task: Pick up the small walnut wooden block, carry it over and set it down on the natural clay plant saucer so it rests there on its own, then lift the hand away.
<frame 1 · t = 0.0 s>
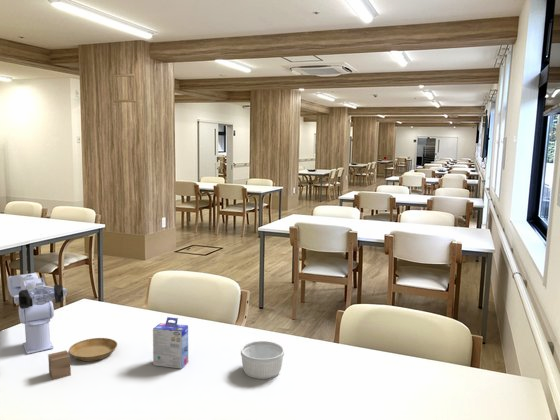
hand: (45, 300, 140), 22 cm above the table, tool horizontal, fingers open, 7 cm apart
walnut block: (60, 374, 140), on the table
plant saucer: (93, 354, 154), on the table
ink cartridge box: (171, 364, 148), on the table
ramekin: (262, 371, 144), on the table
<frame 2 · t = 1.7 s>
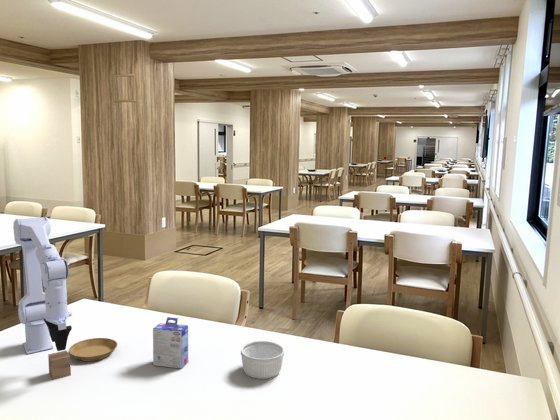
hand: (58, 345, 138), 9 cm above the table, tool pointing down, fingers open, 7 cm apart
nothing on the table moved.
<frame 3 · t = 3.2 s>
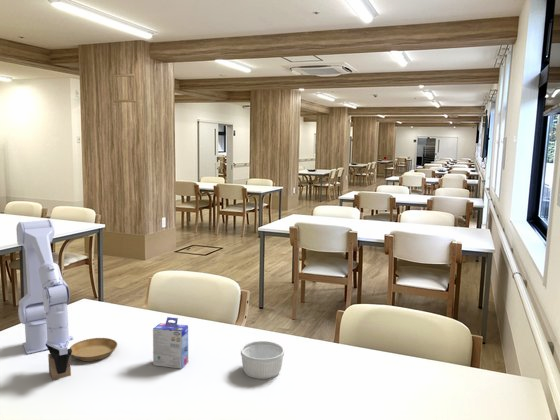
hand: (59, 369, 139), 2 cm above the table, tool pointing down, fingers closed on walnut block, 5 cm apart
walnut block: (60, 374, 140), on the table, touching gripper
everything else where it was.
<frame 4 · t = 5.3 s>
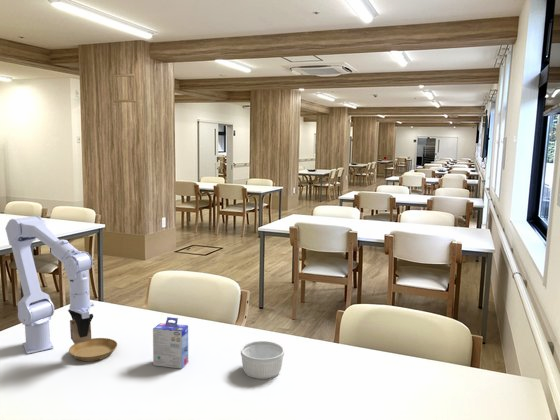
hand: (81, 333, 148), 9 cm above the table, tool pointing down, fingers closed on walnut block, 5 cm apart
walnut block: (81, 339, 148), point 7 cm above the table, touching gripper
everything else where it was.
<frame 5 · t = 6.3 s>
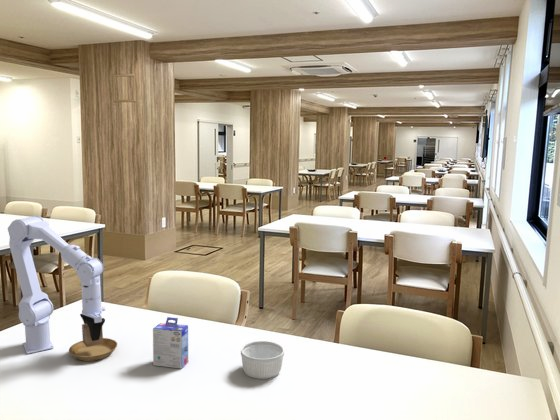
hand: (93, 337, 153), 6 cm above the table, tool pointing down, fingers closed on walnut block, 5 cm apart
walnut block: (92, 342, 153), point 4 cm above the table, touching gripper
everything else where it was.
when the fingers open (5 cm above the table, at t = 7.2 s): walnut block drops 1 cm, resting on plant saucer.
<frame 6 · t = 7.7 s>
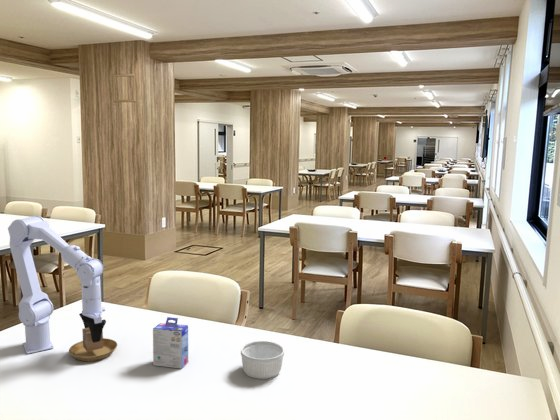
hand: (93, 337, 153), 5 cm above the table, tool pointing down, fingers open, 7 cm apart
walnut block: (93, 347, 153), point 2 cm above the table, touching plant saucer
plant saucer: (93, 355, 154), on the table, touching walnut block
everything else where it was.
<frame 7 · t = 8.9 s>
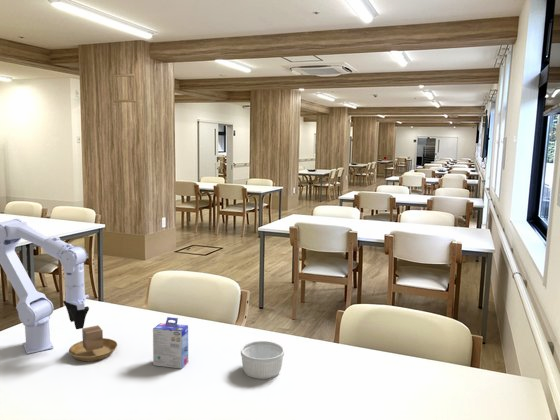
hand: (76, 324, 153), 9 cm above the table, tool pointing down, fingers open, 7 cm apart
nothing on the table moved.
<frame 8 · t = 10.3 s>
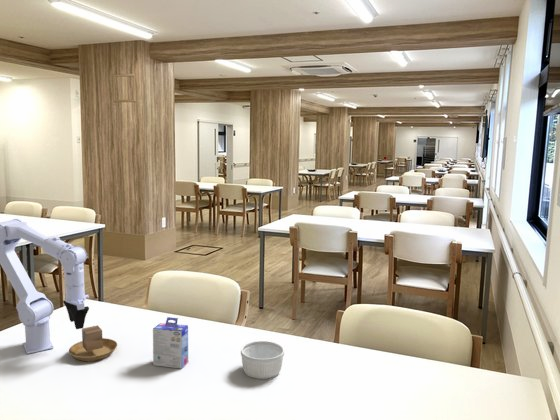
hand: (76, 324, 153), 9 cm above the table, tool pointing down, fingers open, 7 cm apart
nothing on the table moved.
at the end: walnut block touching plant saucer; walnut block tilted 0° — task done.
